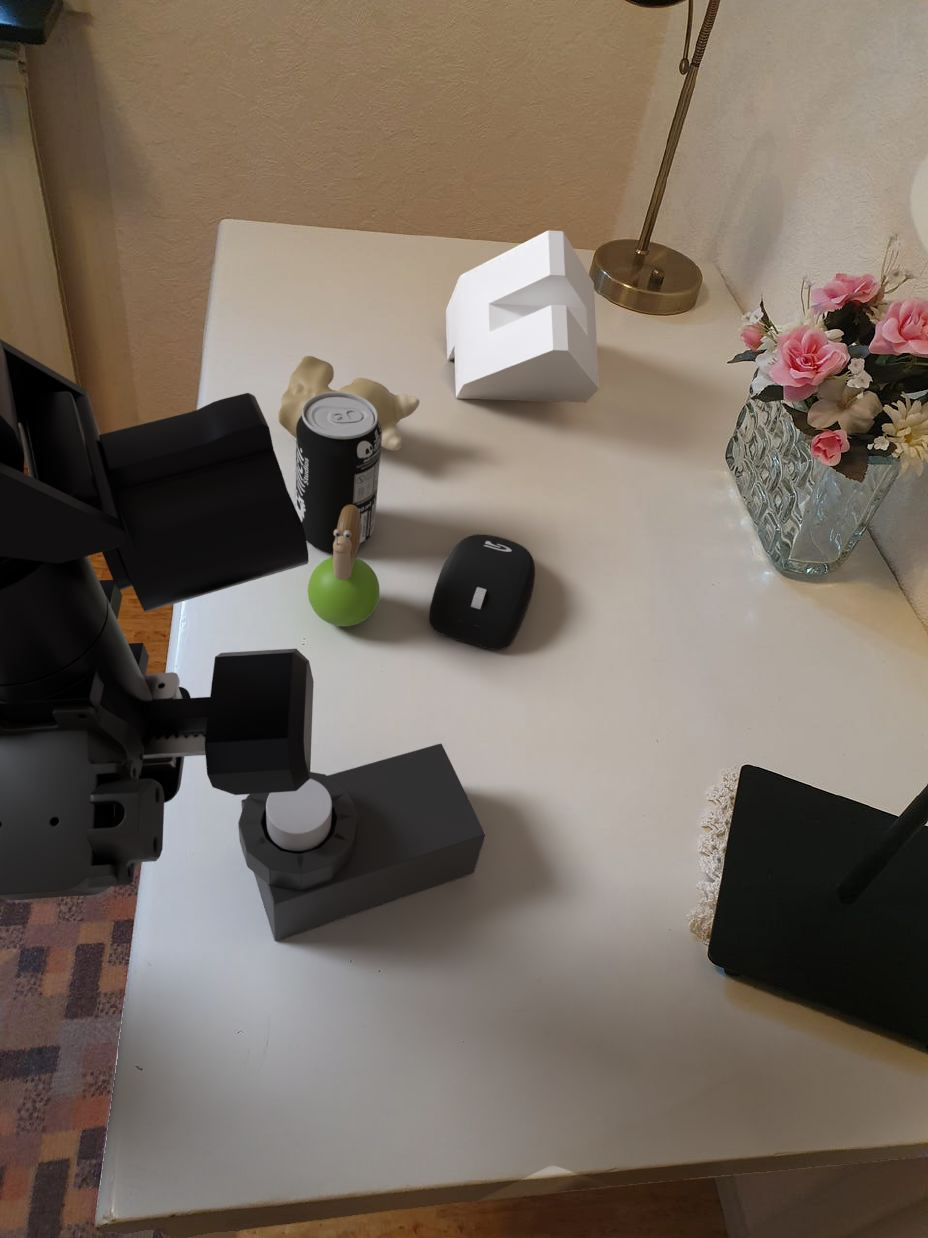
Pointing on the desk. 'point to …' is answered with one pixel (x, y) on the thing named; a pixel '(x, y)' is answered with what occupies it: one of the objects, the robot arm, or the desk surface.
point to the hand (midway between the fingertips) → (142, 819)
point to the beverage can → (336, 464)
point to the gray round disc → (299, 816)
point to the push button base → (366, 842)
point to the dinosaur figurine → (319, 374)
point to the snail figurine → (344, 577)
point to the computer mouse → (483, 591)
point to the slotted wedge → (525, 325)
